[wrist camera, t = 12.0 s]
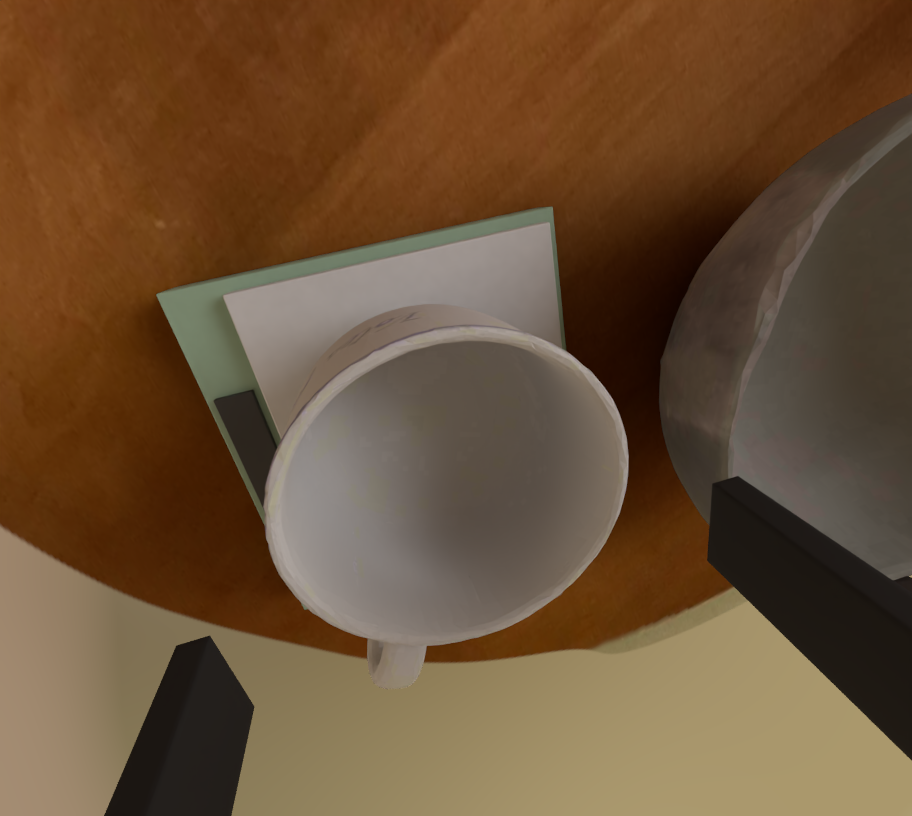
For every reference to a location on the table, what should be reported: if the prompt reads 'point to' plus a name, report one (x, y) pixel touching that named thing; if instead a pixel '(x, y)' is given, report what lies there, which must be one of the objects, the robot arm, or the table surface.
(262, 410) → the scale
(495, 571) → the teacup
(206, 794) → the robot arm
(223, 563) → the table surface
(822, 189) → the bowl
